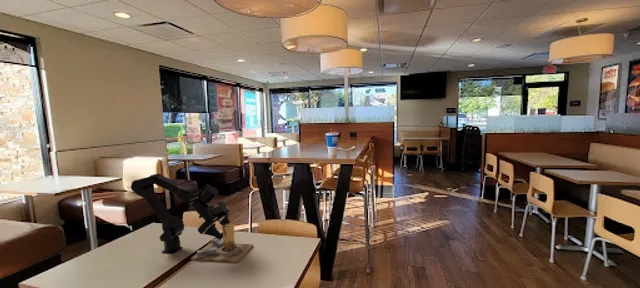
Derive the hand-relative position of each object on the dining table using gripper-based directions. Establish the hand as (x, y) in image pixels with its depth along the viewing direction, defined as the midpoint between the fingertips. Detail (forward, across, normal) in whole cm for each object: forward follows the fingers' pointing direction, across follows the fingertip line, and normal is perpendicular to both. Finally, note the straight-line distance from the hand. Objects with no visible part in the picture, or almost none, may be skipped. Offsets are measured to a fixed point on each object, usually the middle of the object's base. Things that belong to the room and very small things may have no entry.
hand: (227, 233), depth 127 cm
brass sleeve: (+6, 0, +5) cm, 8 cm away
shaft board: (+5, 0, +8) cm, 9 cm away
